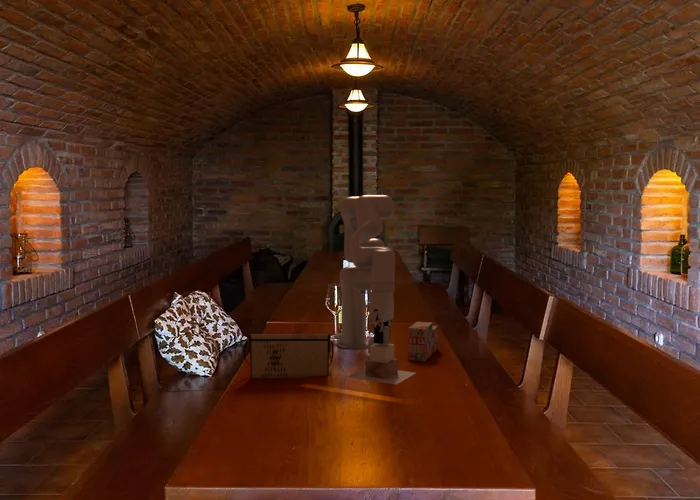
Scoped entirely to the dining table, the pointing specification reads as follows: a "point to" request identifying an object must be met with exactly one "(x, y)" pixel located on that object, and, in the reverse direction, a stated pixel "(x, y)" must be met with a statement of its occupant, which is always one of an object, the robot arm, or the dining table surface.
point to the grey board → (393, 380)
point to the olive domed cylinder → (386, 335)
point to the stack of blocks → (422, 341)
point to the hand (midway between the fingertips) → (382, 341)
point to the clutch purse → (289, 355)
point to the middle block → (382, 352)
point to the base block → (381, 369)
